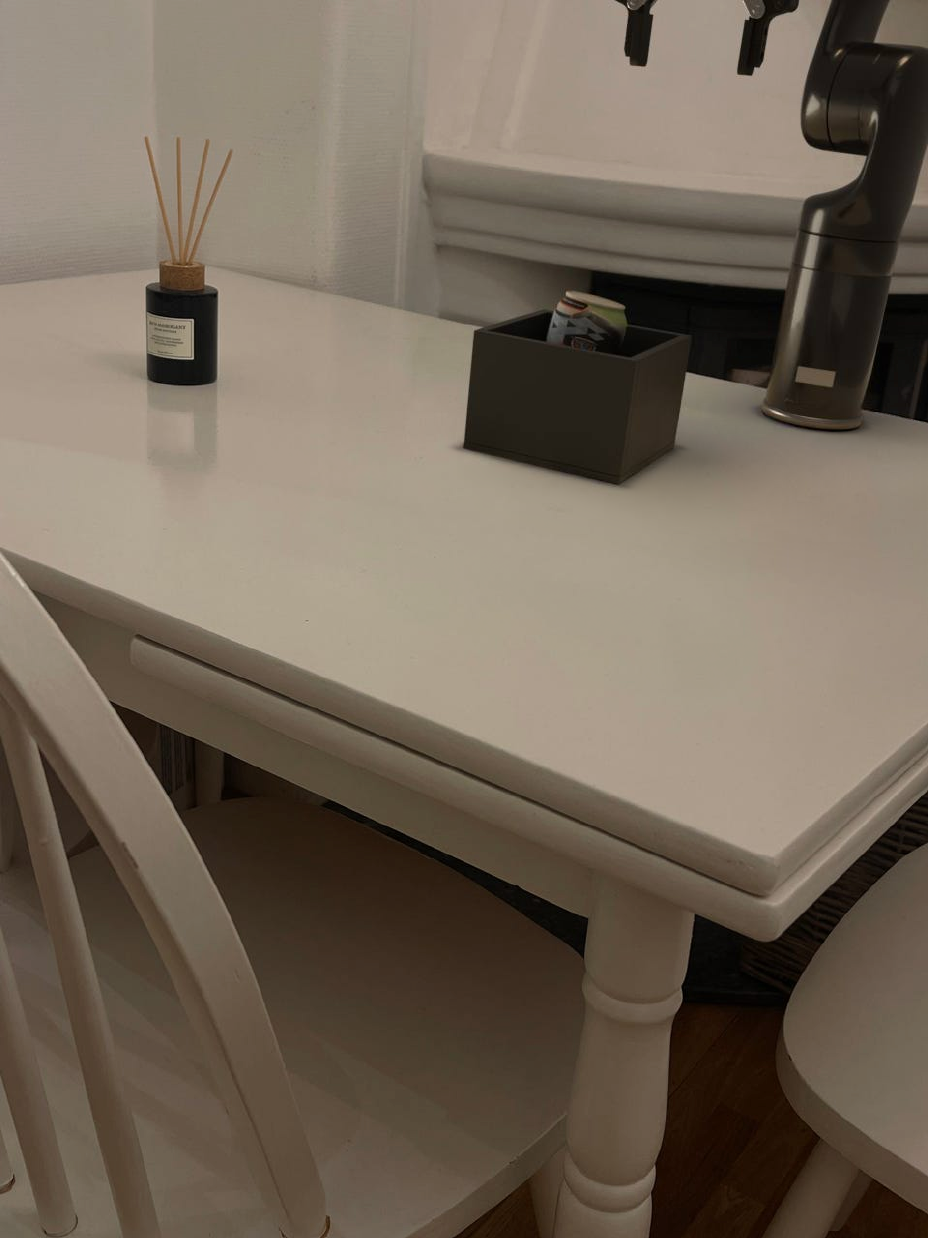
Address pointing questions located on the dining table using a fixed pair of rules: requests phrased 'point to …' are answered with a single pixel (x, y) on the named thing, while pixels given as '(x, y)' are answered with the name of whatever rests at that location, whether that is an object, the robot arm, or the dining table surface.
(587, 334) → the beverage can
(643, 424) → the waste bin
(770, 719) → the dining table surface
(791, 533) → the dining table surface
